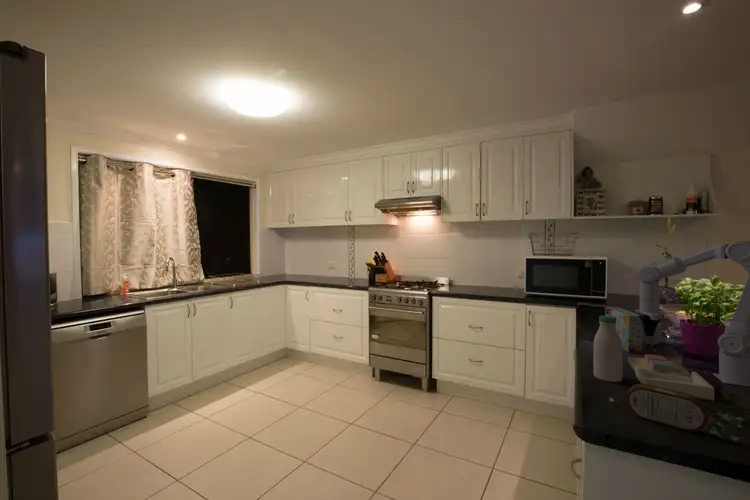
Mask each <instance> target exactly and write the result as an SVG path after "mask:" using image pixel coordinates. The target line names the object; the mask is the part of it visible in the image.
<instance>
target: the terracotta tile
mask: <svg viewBox="0 0 750 500" xmlns="http://www.w3.org/2000/svg"><path fill="white" fill-rule="evenodd" d="M644 358H645V360H646V362H647V363H648V364H649V359H653V360H661V361H668V360H667V359H666V358H665V357H664V356H663V355H657V354H647V353H644Z"/></svg>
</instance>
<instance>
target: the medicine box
mask: <svg viewBox="0 0 750 500" xmlns="http://www.w3.org/2000/svg"><path fill="white" fill-rule="evenodd" d="M660 342H662V343H663V323H661V322H659V323H658V325H657V327H656V330H655V333H654V336H653V337H652V336H646V335H645V332H644V327H643V337H642V344H644V345H648V344H650V345H649V346H653V345H654V346H656V345H659V344H661V343H660ZM658 343H659V344H658ZM655 344H656V345H655Z"/></svg>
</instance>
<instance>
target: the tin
mask: <svg viewBox="0 0 750 500" xmlns="http://www.w3.org/2000/svg"><path fill="white" fill-rule="evenodd" d="M626 394H627V395H626V403H627V405H628V407H629V409H630V410H631V411H632V412H633V413H634V414H635V415H637V416H638V417H640V418H642V419H644V420H646V421H649V422H650V421H651V422H653V423H657V424H661V425H664V426H668V427H672V428H675V429H678V430H682V431H686V432H699V431H701V430H703V429H705V428H706V427H707V425H708V423H709V418H710V414H709V410H708V408H707V406H706V405H705V403H704V402H702V401H701V399H699V398H696V397H695V396H693V395H690V394H688V393H684V392H679V391H675V390H671V389H666V388H662V387H658V386H653V385H649V384H643V383H642V384H641V383H636V384H632V385H631V386H630V387H629V389H627V393H626Z"/></svg>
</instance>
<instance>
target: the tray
mask: <svg viewBox="0 0 750 500" xmlns="http://www.w3.org/2000/svg"><path fill="white" fill-rule="evenodd" d="M691 375H692V377H687V376H679V375H672V374H664V373H656V372H649V371H643V369H642V368H641V367H640V365H636V373H635V377H636V378H637V380H638V381H639V382H640V383H639V384H642V383H643V384H649V385H653V386H658V387H662V388H666V389H671V390H675V391H679V392H684V393H688V394H690V395H693V396H695V397H696V398H698V399H699V400H704V401H705V400H707V401H713V402H714V401H715V387H714V386H713V385H711V384H710V383H709V382H708V381H706V380H705V379H704V378H703V377H702V376H701V375H700V374H699V373H697V372H696V371H691Z"/></svg>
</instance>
